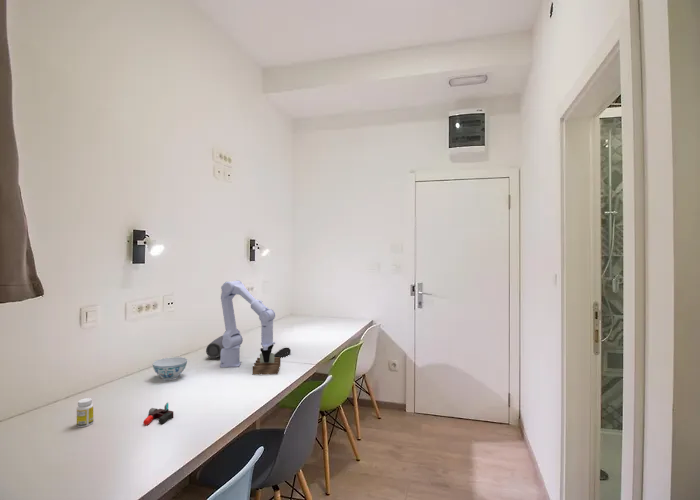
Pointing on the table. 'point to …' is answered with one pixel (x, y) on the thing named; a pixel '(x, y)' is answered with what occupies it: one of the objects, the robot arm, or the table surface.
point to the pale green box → (271, 359)
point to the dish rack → (266, 367)
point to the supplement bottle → (84, 412)
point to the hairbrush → (283, 352)
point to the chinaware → (169, 367)
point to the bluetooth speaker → (215, 348)
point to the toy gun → (159, 415)
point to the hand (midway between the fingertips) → (267, 360)
